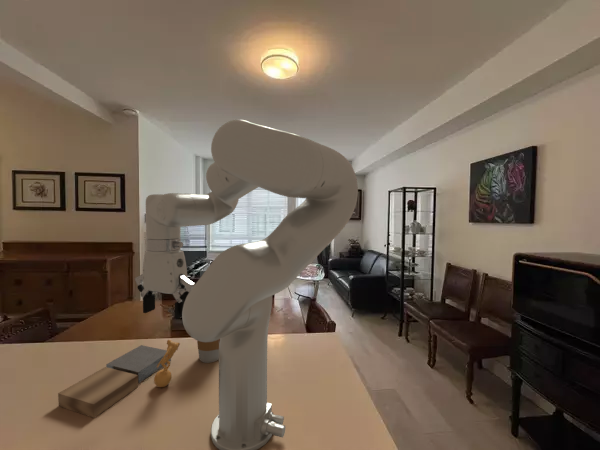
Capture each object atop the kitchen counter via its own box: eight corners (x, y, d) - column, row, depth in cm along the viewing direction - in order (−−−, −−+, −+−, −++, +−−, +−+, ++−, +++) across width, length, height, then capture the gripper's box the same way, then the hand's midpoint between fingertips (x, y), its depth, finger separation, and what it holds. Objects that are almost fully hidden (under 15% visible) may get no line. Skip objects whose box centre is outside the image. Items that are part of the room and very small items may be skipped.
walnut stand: (138, 386, 70) (138, 375, 70) (94, 417, 60) (93, 404, 60) (105, 378, 74) (105, 366, 73) (58, 406, 63) (58, 393, 63)
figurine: (165, 375, 75) (164, 331, 74) (186, 377, 74) (186, 333, 74) (144, 395, 67) (143, 346, 66) (168, 398, 66) (167, 348, 65)
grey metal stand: (170, 361, 82) (170, 351, 82) (138, 383, 72) (138, 372, 71) (141, 354, 85) (141, 345, 85) (106, 375, 75) (106, 364, 75)
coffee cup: (219, 365, 80) (219, 313, 79) (190, 364, 80) (189, 313, 79) (227, 350, 88) (227, 303, 87) (201, 350, 89) (200, 303, 88)
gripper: (203, 245, 69) (203, 313, 71) (148, 241, 75) (149, 304, 76) (182, 250, 62) (182, 325, 63) (122, 245, 68) (124, 314, 69)
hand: (164, 313), depth 70 cm, fingers open, 9 cm apart
